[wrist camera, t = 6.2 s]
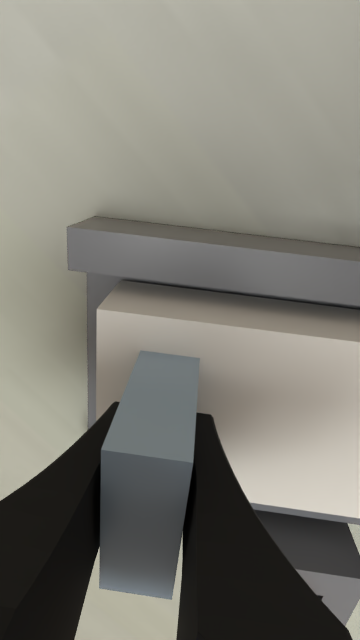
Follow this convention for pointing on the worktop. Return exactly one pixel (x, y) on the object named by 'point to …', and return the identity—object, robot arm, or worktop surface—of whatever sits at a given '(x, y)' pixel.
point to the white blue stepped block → (218, 414)
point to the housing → (249, 280)
